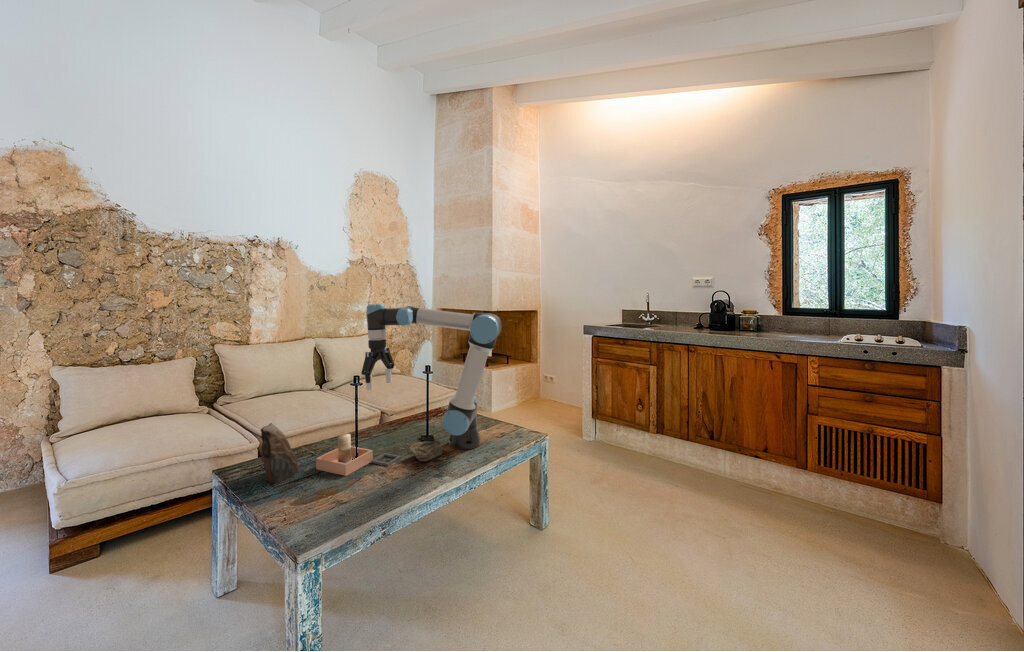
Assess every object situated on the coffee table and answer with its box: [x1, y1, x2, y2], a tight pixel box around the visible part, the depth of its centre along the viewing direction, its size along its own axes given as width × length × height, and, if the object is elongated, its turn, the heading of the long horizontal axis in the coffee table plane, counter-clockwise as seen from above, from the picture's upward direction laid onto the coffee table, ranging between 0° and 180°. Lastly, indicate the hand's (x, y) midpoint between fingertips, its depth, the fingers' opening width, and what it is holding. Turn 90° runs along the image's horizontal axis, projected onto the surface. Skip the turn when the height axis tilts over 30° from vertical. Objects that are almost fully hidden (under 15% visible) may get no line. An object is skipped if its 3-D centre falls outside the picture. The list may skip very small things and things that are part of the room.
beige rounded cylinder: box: [337, 433, 352, 464], centre depth 174 cm, size 6×6×12 cm
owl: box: [259, 422, 301, 484], centre depth 164 cm, size 13×13×20 cm
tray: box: [315, 445, 374, 477], centre depth 175 cm, size 16×16×5 cm
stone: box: [409, 440, 443, 462], centre depth 182 cm, size 14×10×10 cm
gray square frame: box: [370, 452, 402, 467], centre depth 180 cm, size 9×9×1 cm
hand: (379, 386), depth 186 cm, fingers open, 13 cm apart
